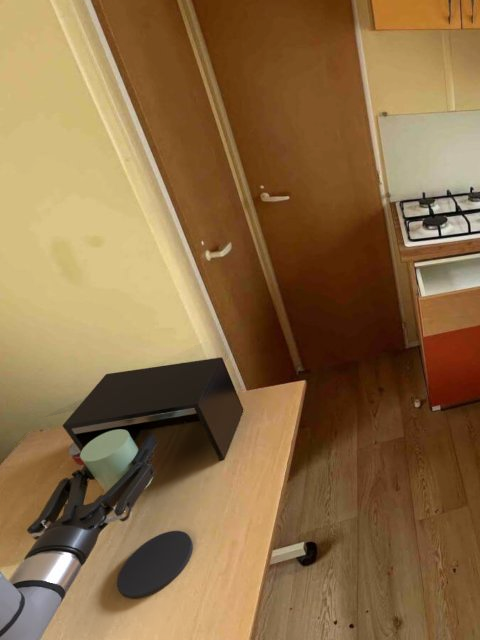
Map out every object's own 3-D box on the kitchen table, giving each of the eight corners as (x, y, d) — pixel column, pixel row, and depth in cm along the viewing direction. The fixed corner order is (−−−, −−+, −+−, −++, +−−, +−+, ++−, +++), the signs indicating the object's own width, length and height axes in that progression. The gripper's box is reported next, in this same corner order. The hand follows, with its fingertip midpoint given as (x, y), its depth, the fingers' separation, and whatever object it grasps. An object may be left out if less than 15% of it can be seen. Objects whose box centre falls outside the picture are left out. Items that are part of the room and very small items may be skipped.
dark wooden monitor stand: (224, 459, 98) (197, 403, 89) (102, 483, 92) (62, 425, 84) (244, 410, 111) (222, 357, 102) (138, 428, 105) (106, 373, 97)
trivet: (102, 598, 74) (99, 596, 73) (150, 533, 83) (148, 530, 83) (164, 599, 73) (162, 596, 73) (206, 533, 83) (204, 530, 83)
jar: (103, 488, 84) (75, 448, 78) (146, 463, 89) (122, 423, 83) (115, 509, 80) (85, 468, 75) (158, 481, 85) (134, 441, 80)
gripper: (-12, 594, 66) (81, 464, 85) (136, 560, 70) (193, 444, 90) (-41, 568, 62) (63, 439, 82) (117, 534, 66) (180, 420, 86)
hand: (131, 442), depth 86 cm, fingers closed on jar, 7 cm apart
